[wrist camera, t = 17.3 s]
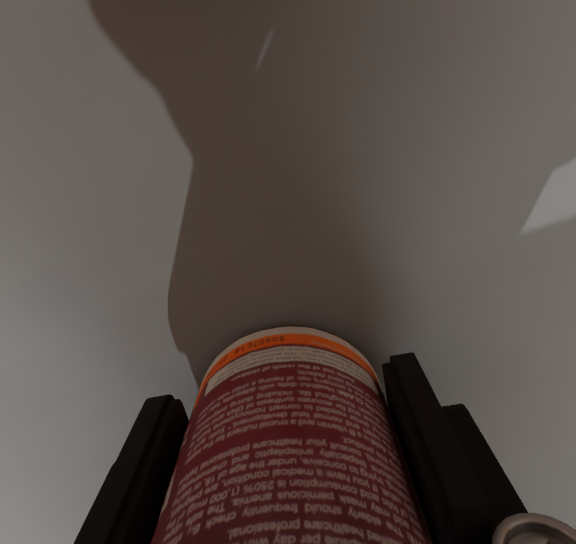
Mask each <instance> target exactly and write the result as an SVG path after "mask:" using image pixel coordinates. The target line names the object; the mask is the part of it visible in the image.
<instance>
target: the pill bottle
mask: <svg viewBox="0 0 576 544" xmlns="http://www.w3.org/2000/svg"><path fill="white" fill-rule="evenodd" d="M151 544H434V543H433V540H432V537H431V534H430V530H429V527H428V524H427V521H426V518H425V515H424V512H423V509H422V506H421V503H420V500H419V497H418V495H417V492H416V489H415V486H414V483H413V480H412V477H411V475H410V472H409V469H408V466H407V463H406V460H405V457H404V454H403V451H402V448H401V445H400V442H399V439H398V436H397V433H396V430H395V427H394V424H393V421H392V418H391V414H390V410H389V408H388V405H387V403H386V400H385V396H384V393H383V390H382V387H381V383H380V381H379V379H378V377H377V374H376V372H375V371H374V369H373V368H372V366H371V364H370V363H369V362H368V360H367V359H366V358H365V357H364V356H363V355H362V354H361V353H360V352H359V351H358V350H357V349H355V348H354V347H353V346H351V345H350V344H349V343H347V342H346V341H344V340H342V339H341V338H339V337H336V336H334V335H332V334H329V333H327V332H324V331H320V330H317V329H313V328H308V327H293V326H289V327H281V328H279V327H277V328H274V329H267V330H262V331H259V332H255V333H253V334H250V335H248V336H245V337H243V338H240V339H239V340H237V341H236V342H234V343H233V344H231V345H230V346H229V347H227V348H226V349H225V350H224V351H223V352H221V353H220V354H219V355H218V356H217V357H216V359H215V360H214V361H213V363H212V364H211V366H210V367H209V369H208V371H207V372H206V374H205V376H204V379H203V381H202V383H201V386H200V389H199V393H198V396H197V399H196V402H195V405H194V408H193V411H192V414H191V418H190V420H189V423H188V426H187V429H186V432H185V435H184V438H183V443H182V446H181V449H180V452H179V456H178V459H177V462H176V465H175V468H174V471H173V474H172V476H171V479H170V482H169V486H168V490H167V494H166V497H165V500H164V503H163V505H162V508H161V513H160V517H159V520H158V523H157V526H156V529H155V533H154V536H153V538H152V541H151Z"/></svg>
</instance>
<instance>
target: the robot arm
mask: <svg viewBox="0 0 576 544" xmlns="http://www.w3.org/2000/svg"><path fill="white" fill-rule="evenodd" d="M382 369H383V376H384V382H385V389H386V396H387V403H388V408H389V410H390V414H391V418H392V421H393V424H394V427H395V430H396V433H397V436H398V439H399V442H400V445H401V448H402V451H403V454H404V457H405V460H406V463H407V466H408V469H409V472H410V475H411V477H412V480H413V483H414V486H415V489H416V492H417V495H418V497H419V500H420V503H421V506H422V509H423V512H424V515H425V518H426V521H427V524H428V527H429V530H430V534H431V537H432V540H433V543H434V544H576V530H574V529H573V528H572V527H570V526H569V525H567V524H566V523H564V522H561V521H559V520H557V519H555V518H552V517H550V516H546V515H541V514H537V513H528V511H527V510H526V508H525V506H524V505H523V503H522V501H521V500H520V498H519V496H518V494H517V493H516V491H515V489H514V488H513V486H512V484H511V483H510V481H509V479H508V478H507V476H506V474H505V472H504V471H503V469H502V467H501V466H500V464H499V462H498V461H497V459H496V457H495V455H494V454H493V452H492V450H491V449H490V447H489V445H488V444H487V442H486V440H485V438H484V437H483V435H482V433H481V432H480V430H479V428H478V427H477V425H476V423H475V422H474V420H473V418H472V416H471V415H470V413H469V411H468V410H467V408H466V407H465V406H464V405H463V404H456V405H450V406H444V407H441V405H440V403H439V402H438V400H437V398H436V396H435V394H434V392H433V390H432V388H431V386H430V384H429V382H428V380H427V378H426V376H425V374H424V372H423V370H422V368H421V366H420V364H419V362H418V360H417V358H416V356H415V354H414V353H413V352H412V353H406V354H400V355H394V356H390V363H385V364H382ZM188 423H189V420H188V417H187V414H186V412H185V409H184V406H183V404H182V402H181V400H180V399H176V400H175V399H174V397H173V396H172V395H164V396H158V397H152V398H148V399H147V400H146V401H145V403H144V405H143V407H142V409H141V411H140V413H139V415H138V417H137V419H136V421H135V423H134V425H133V427H132V429H131V431H130V433H129V435H128V437H127V439H126V441H125V444H124V446H123V448H122V450H121V452H120V454H119V456H118V458H117V460H116V462H115V463H114V464H113V466H112V467H111V469H110V471H109V473H108V475H107V477H106V479H105V481H104V483H103V485H102V487H101V489H100V491H99V493H98V495H97V497H96V499H95V501H94V503H93V505H92V507H91V509H90V511H89V513H88V515H87V517H86V520H85V522H84V524H83V526H82V528H81V530H80V532H79V534H78V536H77V538H76V540H75V542H74V544H151V541H152V538H153V536H154V533H155V529H156V526H157V523H158V520H159V517H160V513H161V508H162V505H163V503H164V500H165V497H166V494H167V490H168V486H169V482H170V479H171V476H172V474H173V471H174V468H175V465H176V462H177V459H178V456H179V452H180V449H181V446H182V443H183V438H184V435H185V432H186V429H187V426H188Z"/></svg>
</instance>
